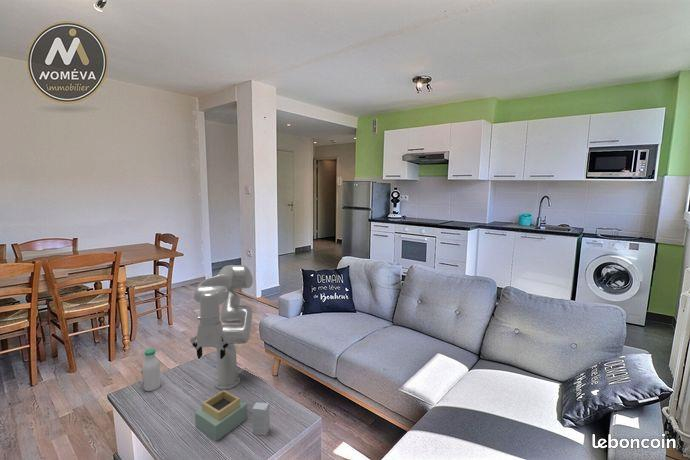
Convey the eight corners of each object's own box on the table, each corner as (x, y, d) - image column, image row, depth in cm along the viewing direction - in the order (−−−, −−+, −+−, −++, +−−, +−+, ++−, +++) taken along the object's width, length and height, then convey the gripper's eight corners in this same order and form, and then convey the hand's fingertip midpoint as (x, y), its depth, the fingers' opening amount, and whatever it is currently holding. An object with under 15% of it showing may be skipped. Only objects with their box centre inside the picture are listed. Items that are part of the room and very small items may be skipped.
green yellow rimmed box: (226, 406, 153) (226, 385, 151) (247, 418, 145) (246, 396, 144) (195, 427, 139) (194, 404, 138) (216, 441, 132) (215, 418, 131)
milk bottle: (164, 384, 168) (162, 348, 165) (151, 393, 161) (148, 355, 158) (153, 381, 170) (150, 345, 167) (139, 389, 163) (137, 352, 160)
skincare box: (269, 428, 140) (269, 403, 138) (266, 436, 136) (266, 410, 134) (256, 427, 140) (255, 401, 139) (252, 434, 136) (251, 408, 134)
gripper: (185, 322, 136) (187, 361, 138) (227, 323, 136) (228, 362, 138) (193, 316, 143) (195, 352, 145) (233, 316, 143) (233, 353, 145)
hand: (211, 357), depth 141 cm, fingers open, 9 cm apart
